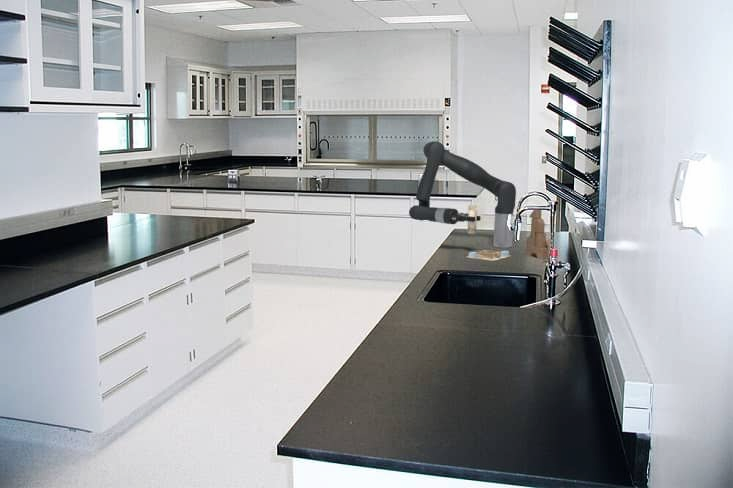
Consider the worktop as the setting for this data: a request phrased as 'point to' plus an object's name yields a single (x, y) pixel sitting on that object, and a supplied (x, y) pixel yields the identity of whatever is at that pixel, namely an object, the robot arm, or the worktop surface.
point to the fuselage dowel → (472, 213)
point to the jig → (489, 255)
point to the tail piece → (473, 254)
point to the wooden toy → (537, 238)
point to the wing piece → (504, 253)
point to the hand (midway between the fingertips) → (477, 218)
